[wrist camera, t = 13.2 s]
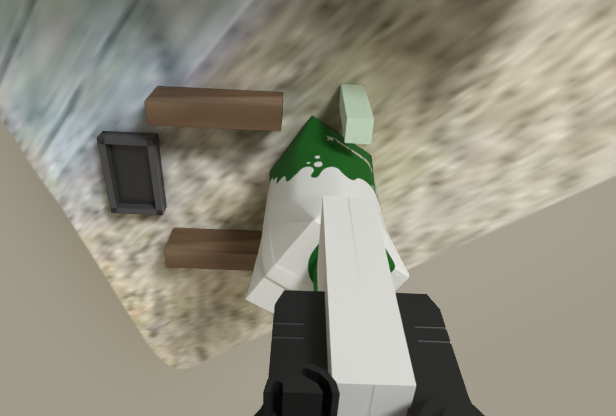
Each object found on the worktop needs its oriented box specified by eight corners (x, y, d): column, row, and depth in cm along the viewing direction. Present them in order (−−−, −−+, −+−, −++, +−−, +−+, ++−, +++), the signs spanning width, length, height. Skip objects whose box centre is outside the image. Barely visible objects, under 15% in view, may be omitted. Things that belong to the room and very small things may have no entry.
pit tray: (102, 131, 44) (96, 137, 43) (157, 133, 45) (153, 140, 43) (116, 204, 49) (111, 212, 47) (166, 207, 49) (162, 215, 47)
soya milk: (385, 152, 46) (430, 298, 29) (327, 218, 50) (338, 380, 33) (309, 101, 43) (310, 227, 26) (255, 174, 47) (225, 326, 30)
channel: (157, 86, 42) (144, 101, 39) (283, 92, 42) (281, 108, 39) (175, 243, 51) (166, 267, 48) (279, 247, 51) (277, 271, 48)
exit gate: (340, 83, 42) (347, 117, 35) (363, 85, 42) (374, 119, 35) (325, 256, 52) (328, 309, 45) (344, 257, 52) (349, 309, 45)
